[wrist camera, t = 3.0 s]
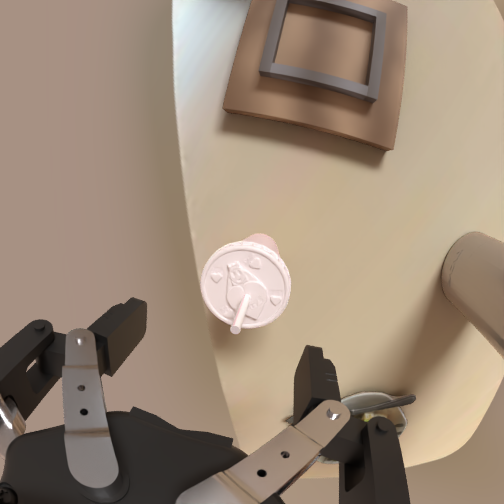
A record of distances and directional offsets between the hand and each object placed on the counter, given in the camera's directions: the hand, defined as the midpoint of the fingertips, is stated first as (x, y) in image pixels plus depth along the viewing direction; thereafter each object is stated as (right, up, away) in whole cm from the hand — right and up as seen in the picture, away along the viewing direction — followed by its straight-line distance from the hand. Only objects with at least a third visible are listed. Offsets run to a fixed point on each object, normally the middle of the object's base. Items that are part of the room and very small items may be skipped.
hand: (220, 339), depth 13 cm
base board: (+9, +24, +9) cm, 27 cm away
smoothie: (+2, +4, +16) cm, 16 cm away
